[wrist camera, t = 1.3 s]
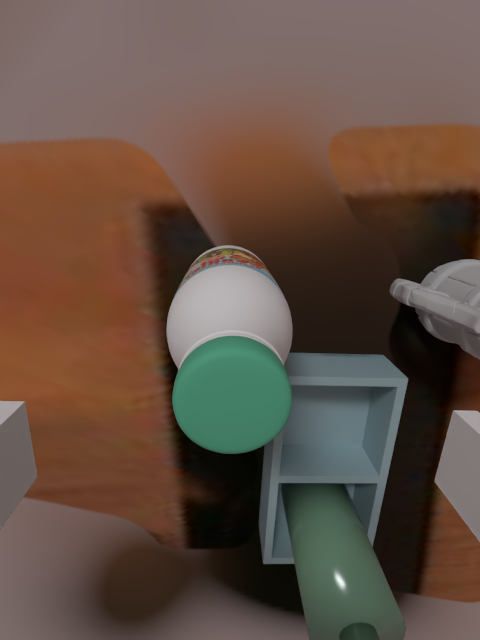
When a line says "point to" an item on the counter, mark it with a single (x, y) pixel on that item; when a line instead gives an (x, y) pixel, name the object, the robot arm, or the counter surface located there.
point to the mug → (447, 302)
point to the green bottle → (337, 567)
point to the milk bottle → (230, 352)
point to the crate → (332, 438)
